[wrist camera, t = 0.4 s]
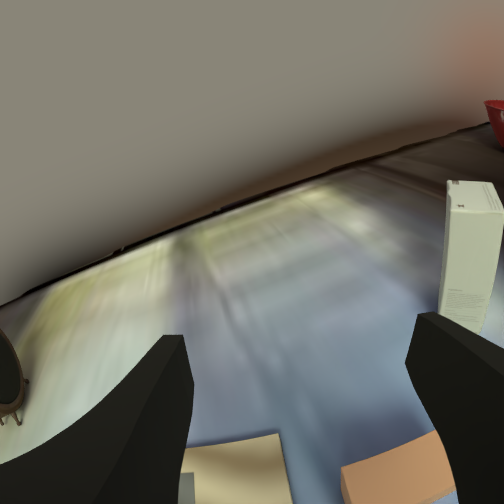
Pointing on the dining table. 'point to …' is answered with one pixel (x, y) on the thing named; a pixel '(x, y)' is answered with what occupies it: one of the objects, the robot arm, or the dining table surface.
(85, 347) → the dining table surface
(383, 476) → the block
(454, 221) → the skincare box
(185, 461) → the wooden tray
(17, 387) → the brown backpack
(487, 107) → the mixing bowl
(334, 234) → the dining table surface
